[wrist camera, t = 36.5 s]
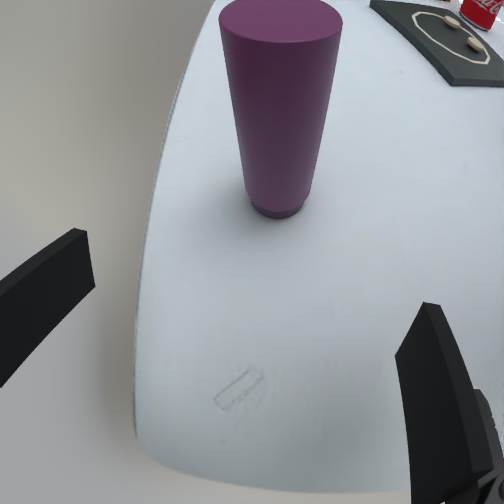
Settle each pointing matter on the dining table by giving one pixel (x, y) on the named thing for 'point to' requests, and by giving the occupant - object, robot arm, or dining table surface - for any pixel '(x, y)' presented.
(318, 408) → the dining table surface
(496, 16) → the white card
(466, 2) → the beverage can
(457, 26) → the eye
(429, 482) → the robot arm
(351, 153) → the dining table surface
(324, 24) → the cylinder
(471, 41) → the eye
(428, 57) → the slate
